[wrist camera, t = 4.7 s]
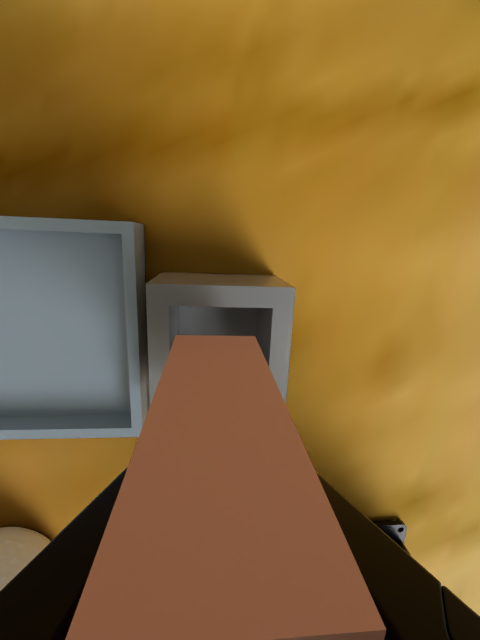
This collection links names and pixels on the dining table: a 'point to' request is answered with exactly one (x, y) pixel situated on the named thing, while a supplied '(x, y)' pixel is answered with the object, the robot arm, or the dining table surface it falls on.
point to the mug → (18, 550)
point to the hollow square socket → (220, 315)
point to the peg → (222, 518)
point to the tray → (72, 328)
